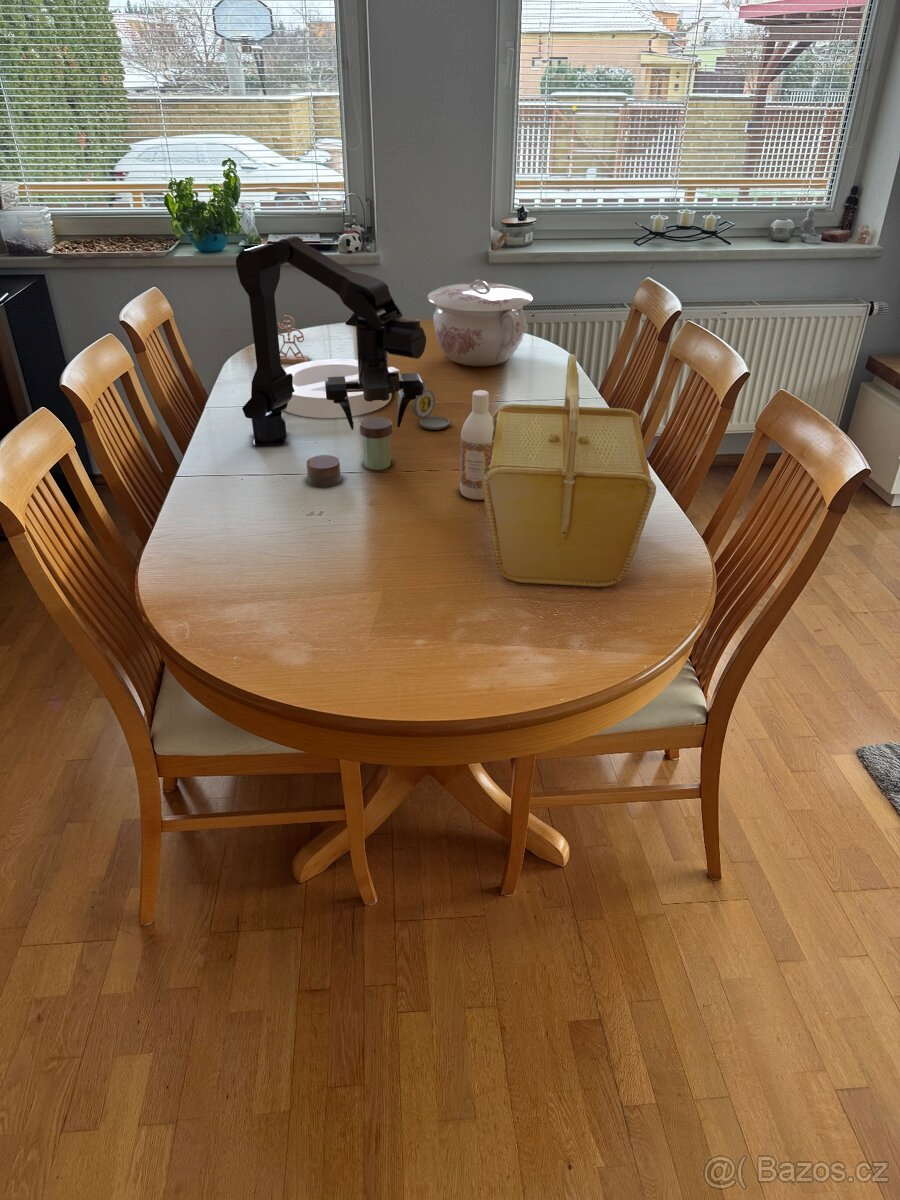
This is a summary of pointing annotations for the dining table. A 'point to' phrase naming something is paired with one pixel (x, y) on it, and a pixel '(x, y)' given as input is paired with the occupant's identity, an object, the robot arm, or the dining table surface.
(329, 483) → the base chip
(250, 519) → the dining table surface
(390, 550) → the dining table surface
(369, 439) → the plastic cup
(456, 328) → the chamber pot
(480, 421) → the bath foam
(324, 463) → the middle chip
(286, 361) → the gingerbread man figurine
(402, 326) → the robot arm
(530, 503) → the picnic basket
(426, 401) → the pocket watch
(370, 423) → the dark brown wooden disc
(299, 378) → the ring with crossbar
